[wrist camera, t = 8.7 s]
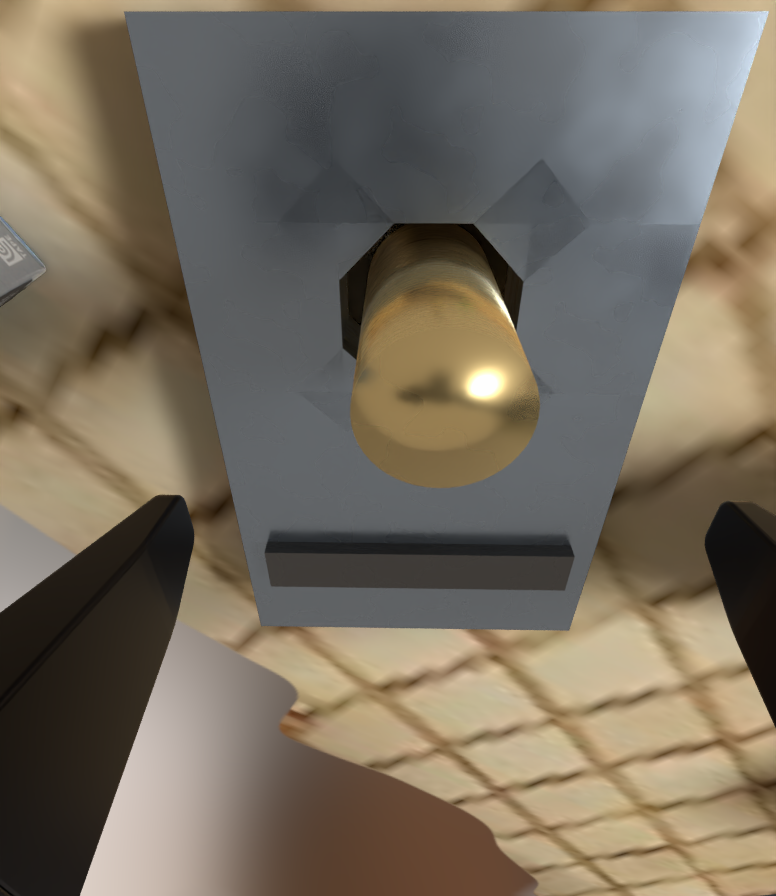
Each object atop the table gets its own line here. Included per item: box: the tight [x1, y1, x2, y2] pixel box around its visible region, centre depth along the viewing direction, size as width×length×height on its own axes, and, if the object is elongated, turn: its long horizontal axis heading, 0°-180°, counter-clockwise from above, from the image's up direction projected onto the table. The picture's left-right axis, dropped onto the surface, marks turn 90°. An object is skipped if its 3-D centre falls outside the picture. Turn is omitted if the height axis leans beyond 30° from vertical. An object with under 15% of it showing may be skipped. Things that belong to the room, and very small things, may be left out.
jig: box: [124, 11, 769, 630], centre depth 19 cm, size 14×22×3 cm, turn 0°
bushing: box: [350, 223, 540, 488], centre depth 15 cm, size 4×4×8 cm
